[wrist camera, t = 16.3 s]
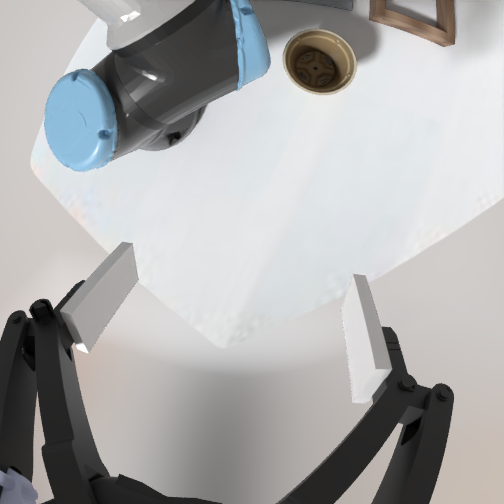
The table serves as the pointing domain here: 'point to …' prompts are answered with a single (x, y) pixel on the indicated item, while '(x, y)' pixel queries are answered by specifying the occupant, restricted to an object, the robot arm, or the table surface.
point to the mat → (331, 3)
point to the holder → (438, 35)
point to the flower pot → (319, 61)
